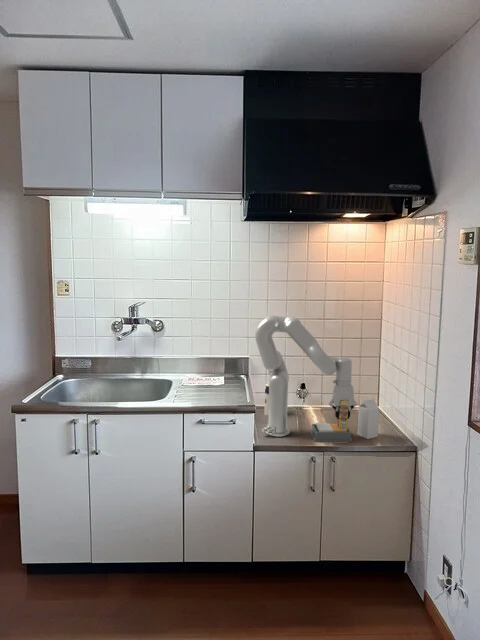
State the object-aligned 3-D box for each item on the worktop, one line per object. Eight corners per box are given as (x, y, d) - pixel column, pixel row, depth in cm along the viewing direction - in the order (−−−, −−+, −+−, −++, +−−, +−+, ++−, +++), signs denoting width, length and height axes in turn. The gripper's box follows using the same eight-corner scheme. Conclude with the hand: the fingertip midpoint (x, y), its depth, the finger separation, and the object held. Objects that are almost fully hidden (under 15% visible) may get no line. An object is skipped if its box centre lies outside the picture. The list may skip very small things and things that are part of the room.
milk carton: (377, 437, 244) (379, 400, 242) (367, 439, 241) (369, 402, 239) (367, 432, 250) (369, 397, 248) (357, 434, 247) (358, 398, 245)
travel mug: (278, 413, 281) (279, 383, 278) (278, 417, 273) (278, 386, 271) (264, 412, 281) (265, 382, 279) (264, 416, 273) (264, 385, 271)
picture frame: (319, 432, 238) (319, 429, 238) (315, 425, 248) (315, 422, 248) (347, 433, 238) (347, 430, 238) (342, 427, 248) (342, 424, 248)
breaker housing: (314, 441, 237) (314, 432, 236) (310, 432, 250) (310, 423, 249) (352, 441, 237) (353, 433, 237) (346, 432, 250) (346, 424, 250)
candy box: (348, 431, 238) (348, 401, 237) (339, 431, 239) (339, 401, 237) (345, 425, 247) (346, 396, 246) (337, 425, 248) (337, 396, 246)
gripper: (328, 384, 236) (327, 420, 238) (362, 384, 237) (361, 420, 239) (325, 381, 244) (324, 416, 246) (358, 380, 244) (357, 415, 246)
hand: (342, 417), depth 242 cm, fingers closed on candy box, 4 cm apart
